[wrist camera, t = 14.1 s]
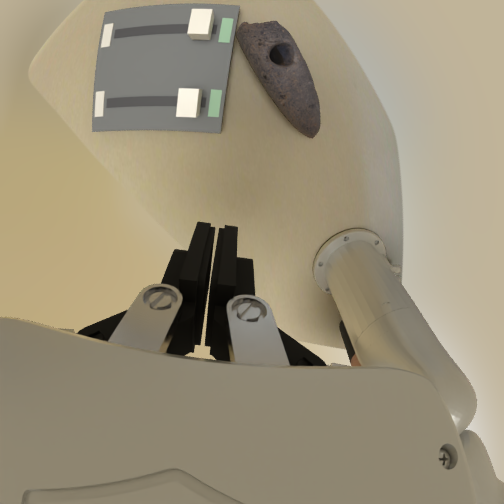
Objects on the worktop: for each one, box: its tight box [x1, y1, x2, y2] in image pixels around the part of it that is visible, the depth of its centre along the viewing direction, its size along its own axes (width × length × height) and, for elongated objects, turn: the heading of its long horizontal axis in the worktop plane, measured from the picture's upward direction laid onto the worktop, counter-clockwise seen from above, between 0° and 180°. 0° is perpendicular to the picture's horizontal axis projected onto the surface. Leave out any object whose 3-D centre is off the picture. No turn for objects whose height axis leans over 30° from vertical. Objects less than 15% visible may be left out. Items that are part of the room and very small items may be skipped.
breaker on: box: [176, 88, 202, 118], centre depth 24 cm, size 2×3×3 cm, turn 172°
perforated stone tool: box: [236, 21, 320, 138], centre depth 24 cm, size 15×5×7 cm, turn 26°
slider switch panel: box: [92, 4, 240, 133], centre depth 24 cm, size 16×16×2 cm
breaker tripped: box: [187, 9, 214, 40], centre depth 20 cm, size 2×3×3 cm, turn 172°
